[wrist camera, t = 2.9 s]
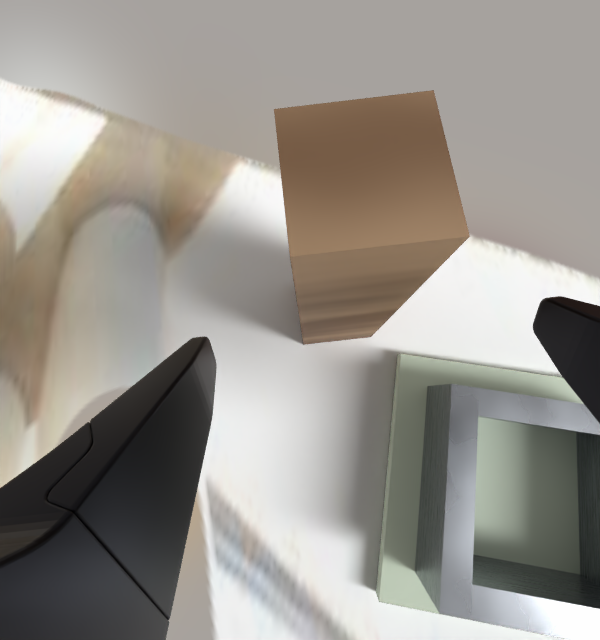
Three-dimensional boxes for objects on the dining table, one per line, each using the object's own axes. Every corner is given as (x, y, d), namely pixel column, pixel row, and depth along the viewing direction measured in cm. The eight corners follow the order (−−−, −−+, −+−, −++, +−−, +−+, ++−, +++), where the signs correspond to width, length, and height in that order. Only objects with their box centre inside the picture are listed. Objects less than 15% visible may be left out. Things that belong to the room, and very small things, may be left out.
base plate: (629, 642, 16) (645, 655, 15) (375, 592, 17) (379, 601, 16) (615, 387, 18) (628, 387, 18) (397, 355, 19) (401, 353, 18)
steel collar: (608, 608, 15) (683, 662, 12) (414, 571, 16) (439, 613, 13) (599, 412, 17) (662, 416, 14) (427, 386, 18) (451, 383, 15)
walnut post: (370, 336, 19) (470, 236, 7) (303, 344, 20) (290, 256, 7) (360, 273, 20) (433, 90, 8) (296, 280, 20) (274, 109, 8)
